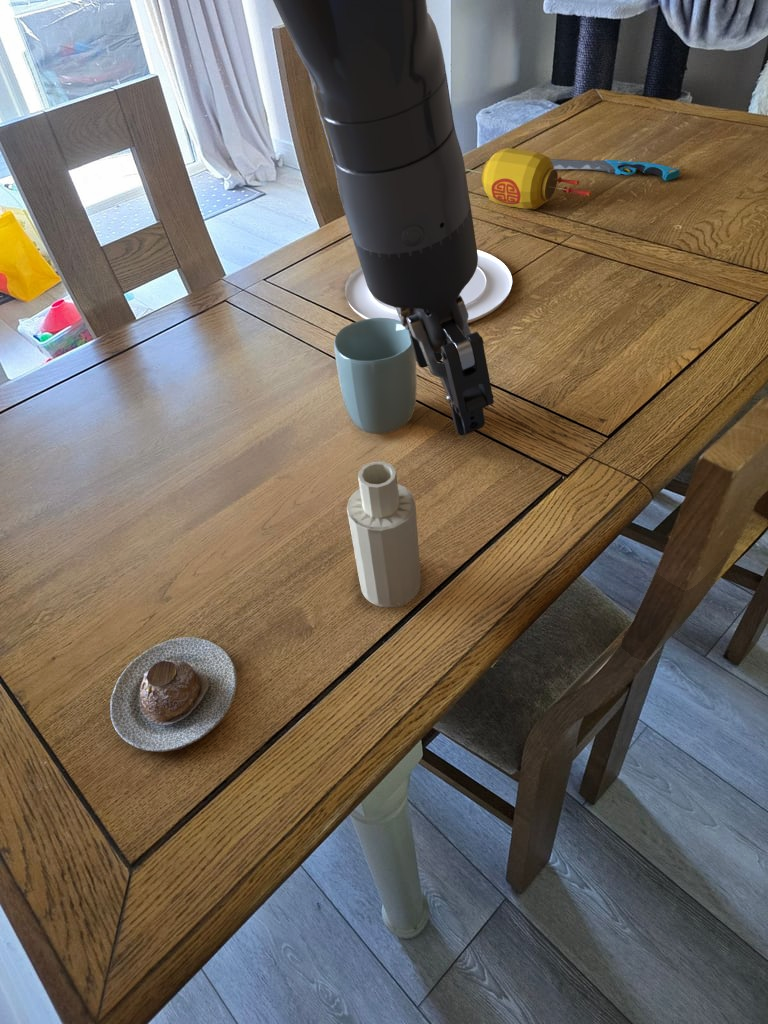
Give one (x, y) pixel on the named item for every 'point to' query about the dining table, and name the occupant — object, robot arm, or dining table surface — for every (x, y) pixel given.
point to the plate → (477, 295)
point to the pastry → (173, 694)
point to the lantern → (521, 179)
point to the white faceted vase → (384, 537)
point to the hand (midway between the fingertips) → (449, 393)
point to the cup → (377, 374)
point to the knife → (618, 167)
